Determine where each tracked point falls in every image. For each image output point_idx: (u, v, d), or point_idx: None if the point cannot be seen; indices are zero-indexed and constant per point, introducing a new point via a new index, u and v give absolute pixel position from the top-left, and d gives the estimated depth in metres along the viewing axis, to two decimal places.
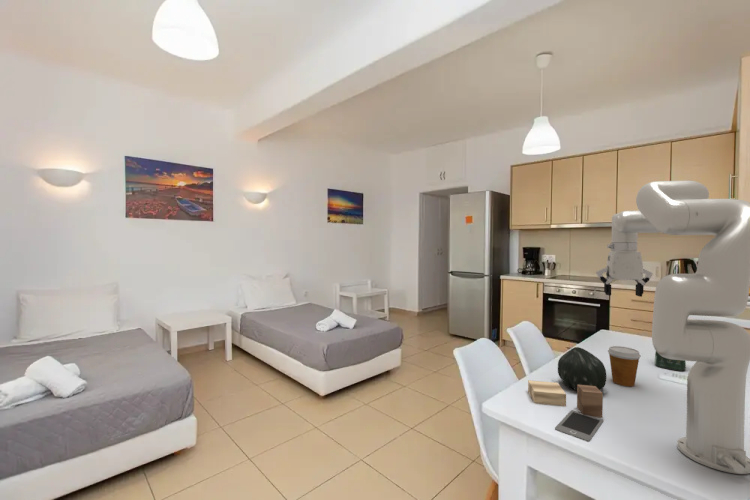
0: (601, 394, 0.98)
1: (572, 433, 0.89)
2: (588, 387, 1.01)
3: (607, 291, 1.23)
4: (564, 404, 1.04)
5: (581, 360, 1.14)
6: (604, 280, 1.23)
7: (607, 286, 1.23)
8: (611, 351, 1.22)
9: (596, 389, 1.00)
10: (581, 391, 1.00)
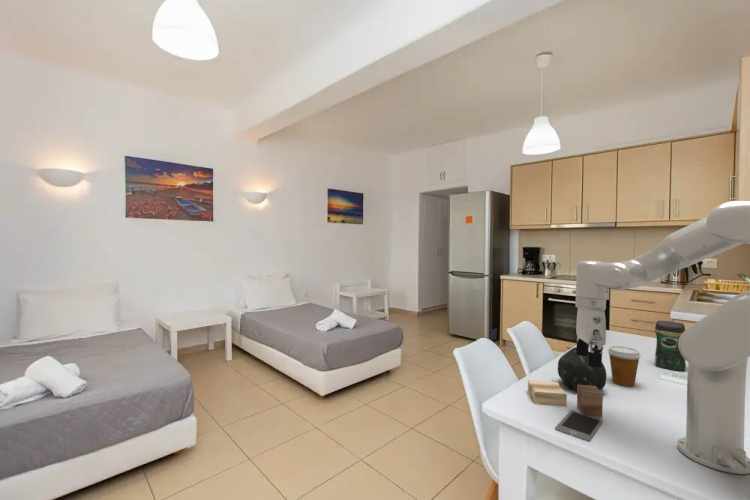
0: (601, 394, 0.98)
1: (572, 433, 0.89)
2: (588, 387, 1.01)
3: (598, 362, 0.95)
4: (564, 404, 1.05)
5: (581, 360, 1.14)
6: None
7: None
8: (611, 351, 1.22)
9: (596, 389, 1.00)
10: (581, 391, 1.00)
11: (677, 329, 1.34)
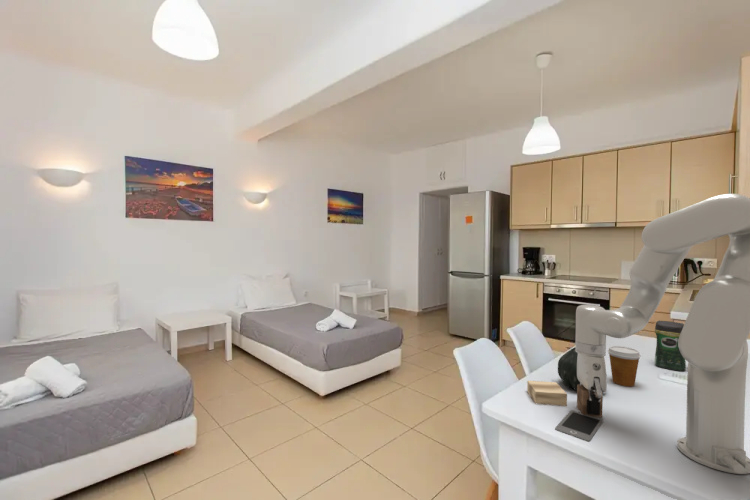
0: None
1: (572, 433, 0.89)
2: None
3: None
4: (565, 404, 1.05)
5: None
6: None
7: (597, 404, 0.97)
8: (611, 351, 1.22)
9: None
10: (581, 391, 1.00)
11: (677, 329, 1.34)
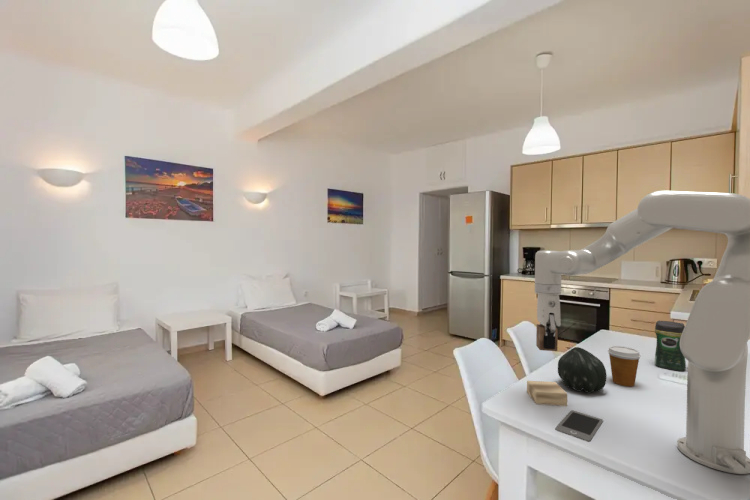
0: (556, 330, 1.06)
1: (572, 433, 0.89)
2: (546, 325, 1.10)
3: (552, 344, 1.06)
4: (565, 403, 1.05)
5: (581, 360, 1.14)
6: None
7: (552, 339, 1.06)
8: (611, 351, 1.22)
9: None
10: (539, 328, 1.09)
11: (677, 329, 1.34)
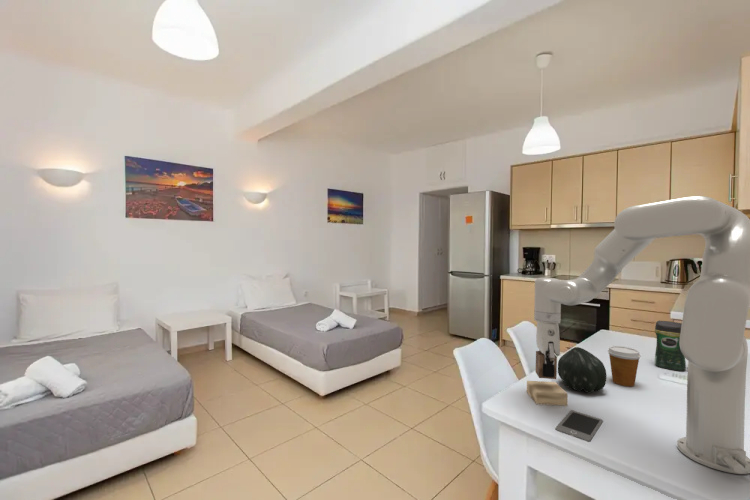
0: (555, 358, 1.07)
1: (572, 433, 0.89)
2: None
3: (551, 373, 1.06)
4: (565, 403, 1.05)
5: (581, 360, 1.14)
6: None
7: (552, 367, 1.06)
8: (611, 351, 1.22)
9: None
10: (538, 356, 1.09)
11: (677, 329, 1.34)
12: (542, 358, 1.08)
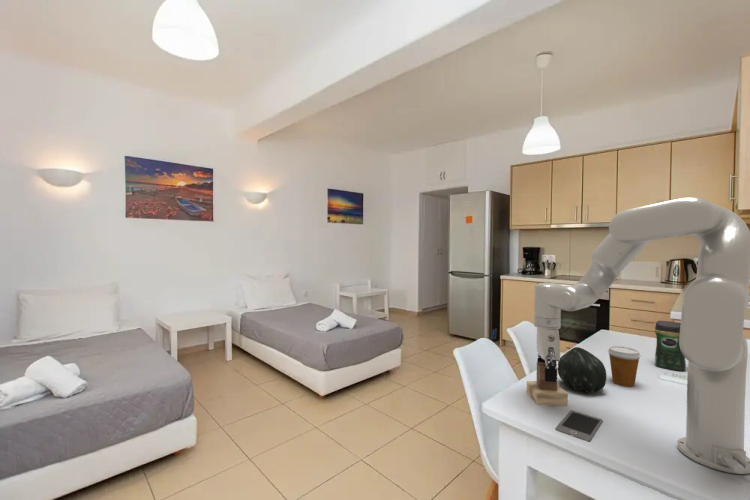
0: None
1: (572, 433, 0.89)
2: None
3: (554, 377, 1.04)
4: (566, 403, 1.05)
5: (581, 360, 1.14)
6: None
7: (554, 372, 1.04)
8: (611, 351, 1.22)
9: None
10: (538, 367, 1.09)
11: (677, 329, 1.34)
12: (542, 369, 1.08)
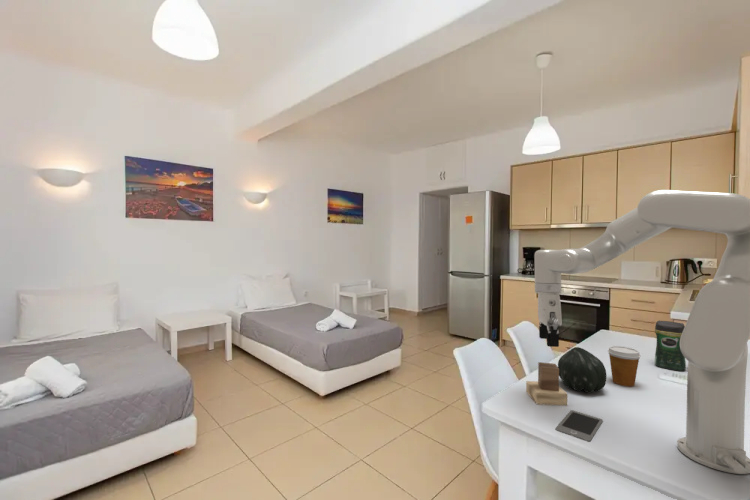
0: (557, 370, 1.06)
1: (573, 433, 0.89)
2: (547, 364, 1.10)
3: None
4: (565, 404, 1.05)
5: (581, 360, 1.14)
6: None
7: (556, 336, 1.04)
8: (611, 351, 1.22)
9: (554, 366, 1.09)
10: (540, 367, 1.09)
11: (677, 329, 1.34)
12: (544, 370, 1.07)
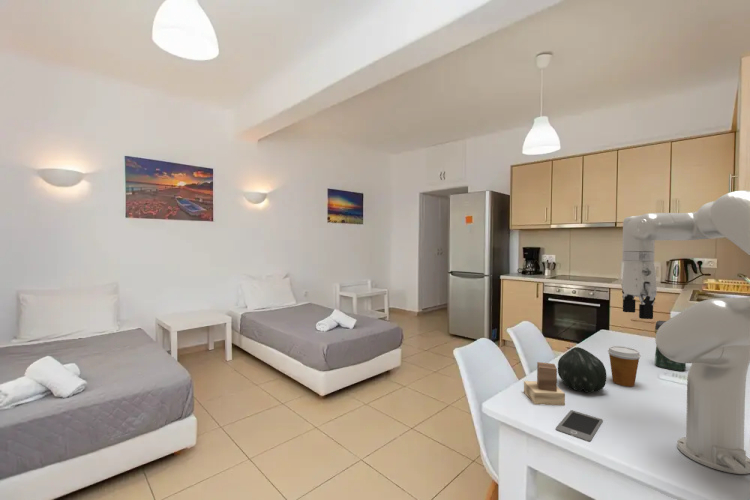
0: (555, 370, 1.06)
1: (573, 433, 0.89)
2: (546, 364, 1.10)
3: None
4: (563, 403, 1.05)
5: (581, 360, 1.14)
6: None
7: (650, 308, 0.96)
8: (611, 351, 1.22)
9: (553, 366, 1.08)
10: (538, 367, 1.09)
11: None
12: (542, 370, 1.07)
